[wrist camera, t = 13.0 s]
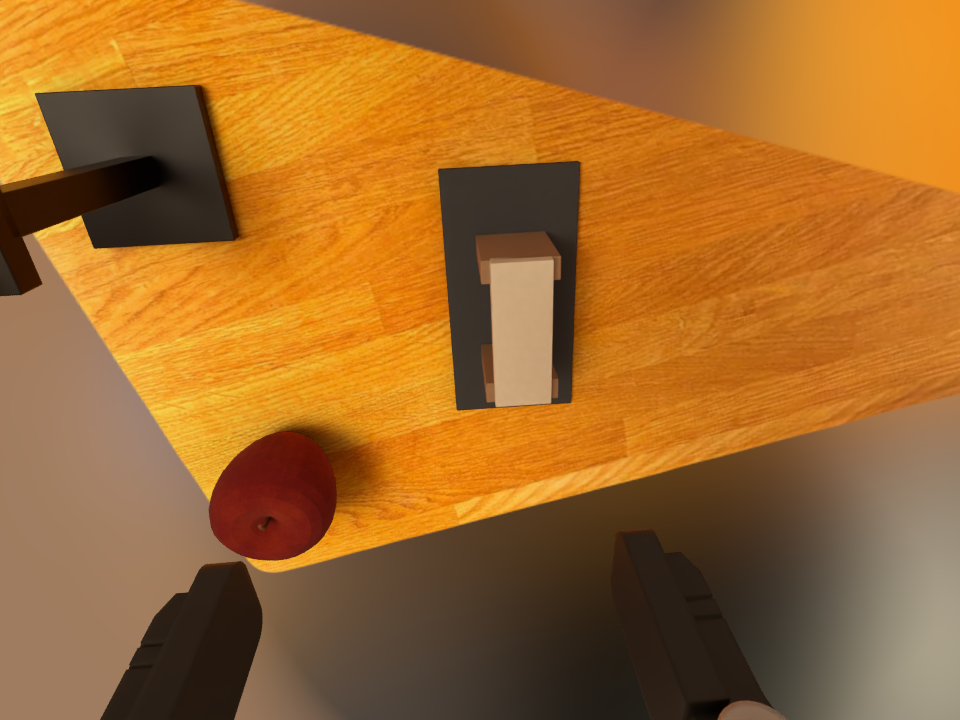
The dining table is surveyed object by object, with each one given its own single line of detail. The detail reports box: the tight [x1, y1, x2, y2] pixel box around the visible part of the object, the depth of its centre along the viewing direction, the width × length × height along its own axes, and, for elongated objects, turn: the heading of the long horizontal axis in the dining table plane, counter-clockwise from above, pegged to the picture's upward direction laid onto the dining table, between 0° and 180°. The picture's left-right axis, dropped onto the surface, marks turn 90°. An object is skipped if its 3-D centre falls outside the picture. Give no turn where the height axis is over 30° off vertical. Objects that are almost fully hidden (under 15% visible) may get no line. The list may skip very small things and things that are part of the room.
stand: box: [0, 85, 239, 296], centre depth 30 cm, size 10×10×16 cm
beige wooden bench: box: [476, 231, 561, 407], centre depth 39 cm, size 11×5×7 cm, turn 3°
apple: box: [209, 432, 337, 560], centre depth 45 cm, size 10×10×10 cm
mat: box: [438, 161, 580, 410], centre depth 43 cm, size 20×10×1 cm, turn 3°
